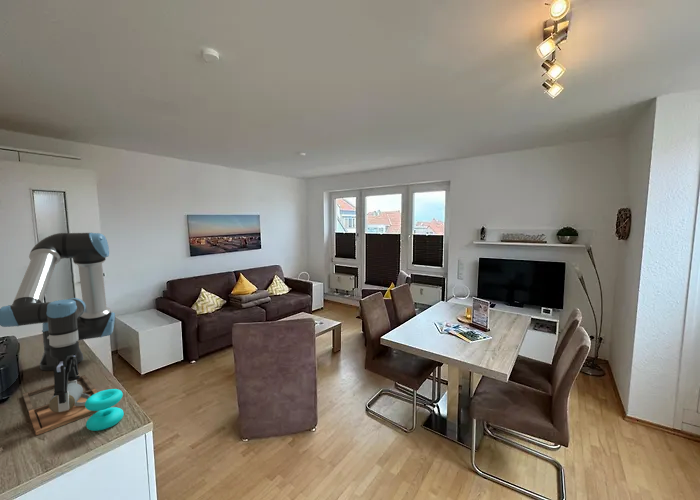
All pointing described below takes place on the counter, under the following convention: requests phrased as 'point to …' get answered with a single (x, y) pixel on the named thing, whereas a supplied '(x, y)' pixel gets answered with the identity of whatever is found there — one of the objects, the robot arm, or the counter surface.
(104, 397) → the donuts
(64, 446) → the counter surface
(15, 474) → the counter surface
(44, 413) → the tray
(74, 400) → the ceramic mug
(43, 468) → the counter surface
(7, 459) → the counter surface
